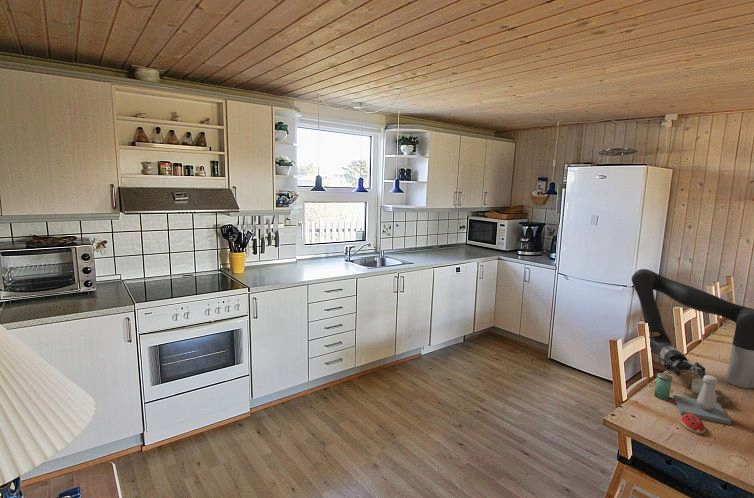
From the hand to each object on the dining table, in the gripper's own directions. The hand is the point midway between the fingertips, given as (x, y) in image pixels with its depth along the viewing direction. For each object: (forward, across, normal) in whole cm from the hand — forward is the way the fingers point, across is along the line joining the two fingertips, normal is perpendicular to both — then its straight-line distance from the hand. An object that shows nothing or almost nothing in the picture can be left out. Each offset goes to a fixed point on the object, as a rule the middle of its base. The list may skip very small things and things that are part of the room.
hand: (691, 374), depth 168 cm
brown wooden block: (+2, +10, +10) cm, 14 cm away
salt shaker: (+11, +1, +9) cm, 14 cm away
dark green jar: (+3, -10, +10) cm, 15 cm away
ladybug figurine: (+23, -8, +10) cm, 26 cm away
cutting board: (+10, 0, +10) cm, 14 cm away
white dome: (-7, +8, +10) cm, 15 cm away
